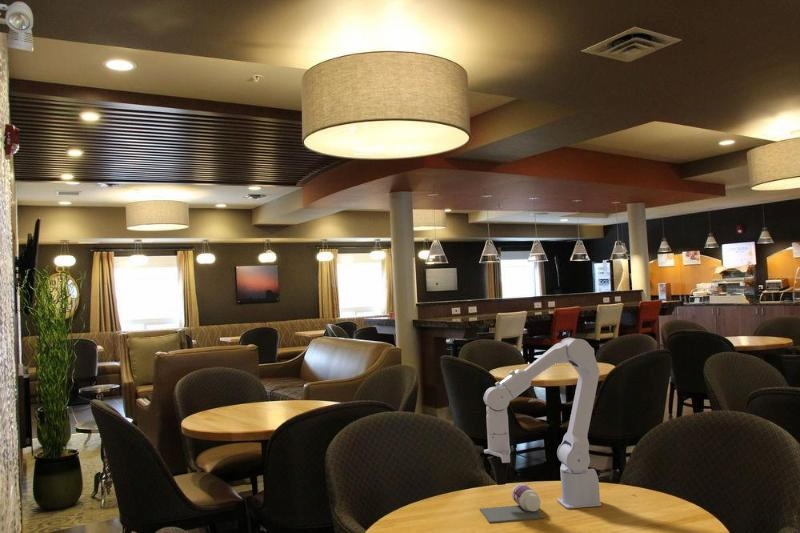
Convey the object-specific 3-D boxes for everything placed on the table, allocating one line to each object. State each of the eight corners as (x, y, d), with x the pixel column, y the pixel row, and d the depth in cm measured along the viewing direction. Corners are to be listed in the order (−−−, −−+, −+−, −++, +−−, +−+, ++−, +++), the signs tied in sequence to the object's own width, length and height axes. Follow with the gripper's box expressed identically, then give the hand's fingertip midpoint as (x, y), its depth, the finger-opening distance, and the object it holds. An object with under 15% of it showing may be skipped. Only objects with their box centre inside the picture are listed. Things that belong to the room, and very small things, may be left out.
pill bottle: (507, 493, 179) (519, 503, 170) (521, 479, 180) (533, 488, 171) (520, 508, 180) (533, 518, 170) (534, 493, 180) (547, 503, 171)
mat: (530, 505, 179) (530, 504, 179) (544, 518, 168) (544, 516, 168) (479, 510, 177) (479, 508, 177) (489, 523, 166) (489, 521, 166)
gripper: (477, 428, 185) (480, 478, 185) (489, 438, 171) (492, 492, 170) (502, 427, 186) (504, 476, 185) (516, 436, 172) (519, 490, 171)
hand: (500, 484), depth 178 cm, fingers closed
